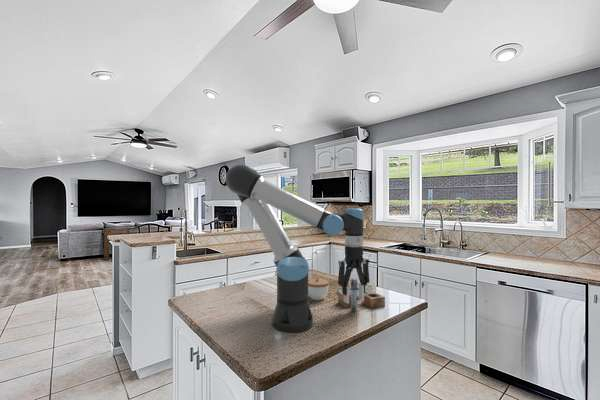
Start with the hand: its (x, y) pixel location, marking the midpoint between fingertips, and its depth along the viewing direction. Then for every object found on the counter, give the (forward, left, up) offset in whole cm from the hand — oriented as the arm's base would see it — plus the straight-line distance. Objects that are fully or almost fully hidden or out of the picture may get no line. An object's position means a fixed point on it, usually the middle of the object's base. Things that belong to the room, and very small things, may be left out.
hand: (353, 301), depth 120 cm
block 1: (+2, +8, -4) cm, 9 cm away
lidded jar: (-7, +20, -4) cm, 22 cm away
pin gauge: (0, 0, -4) cm, 4 cm away
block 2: (+12, +3, -4) cm, 13 cm away
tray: (+12, +18, -4) cm, 22 cm away
